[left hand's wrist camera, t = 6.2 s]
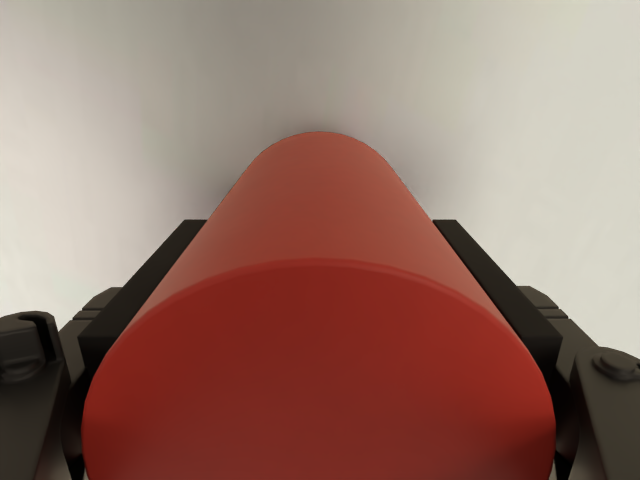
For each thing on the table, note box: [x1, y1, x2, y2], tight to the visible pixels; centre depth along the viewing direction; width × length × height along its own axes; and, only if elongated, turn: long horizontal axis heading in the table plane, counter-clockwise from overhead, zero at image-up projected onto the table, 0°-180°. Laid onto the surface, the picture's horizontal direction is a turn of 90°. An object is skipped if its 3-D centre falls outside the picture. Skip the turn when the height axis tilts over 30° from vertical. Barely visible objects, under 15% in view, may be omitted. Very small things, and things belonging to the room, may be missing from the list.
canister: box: [81, 132, 556, 480], centre depth 12 cm, size 7×7×12 cm
